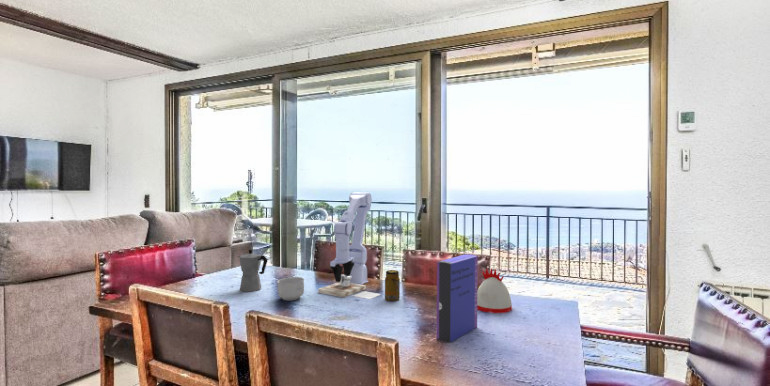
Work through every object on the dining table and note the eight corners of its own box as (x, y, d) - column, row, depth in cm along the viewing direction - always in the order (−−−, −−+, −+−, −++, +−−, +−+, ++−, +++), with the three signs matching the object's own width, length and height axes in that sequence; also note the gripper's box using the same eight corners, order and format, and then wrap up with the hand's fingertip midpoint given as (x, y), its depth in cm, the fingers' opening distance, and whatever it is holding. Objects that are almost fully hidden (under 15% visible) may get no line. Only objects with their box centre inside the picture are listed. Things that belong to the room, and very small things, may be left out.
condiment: (393, 297, 173) (393, 268, 173) (406, 301, 167) (407, 272, 167) (379, 300, 169) (379, 271, 169) (393, 304, 162) (393, 274, 162)
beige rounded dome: (481, 300, 169) (481, 264, 168) (515, 305, 162) (515, 267, 161) (469, 309, 157) (469, 270, 156) (506, 315, 150) (506, 274, 149)
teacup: (300, 302, 165) (300, 282, 165) (273, 302, 165) (273, 282, 165) (308, 293, 179) (307, 275, 179) (283, 293, 179) (283, 274, 179)
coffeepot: (231, 290, 183) (231, 250, 183) (245, 285, 192) (245, 247, 191) (260, 293, 178) (260, 252, 177) (273, 288, 187) (273, 248, 186)
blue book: (464, 324, 140) (464, 253, 140) (477, 327, 137) (477, 255, 136) (436, 339, 127) (437, 261, 126) (450, 343, 124) (450, 263, 123)
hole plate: (341, 285, 192) (341, 281, 192) (366, 289, 185) (366, 285, 185) (318, 293, 179) (318, 288, 179) (344, 298, 171) (344, 293, 171)
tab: (364, 292, 181) (364, 291, 181) (381, 295, 176) (381, 294, 176) (352, 296, 173) (352, 295, 173) (369, 300, 169) (369, 299, 169)
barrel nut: (345, 289, 185) (347, 273, 184) (351, 292, 181) (353, 277, 181) (336, 289, 182) (338, 274, 181) (342, 293, 178) (344, 277, 178)
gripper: (345, 246, 190) (345, 275, 190) (324, 250, 177) (324, 282, 178) (358, 247, 186) (357, 277, 186) (337, 252, 174) (337, 284, 174)
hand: (342, 280), depth 182 cm, fingers open, 6 cm apart
